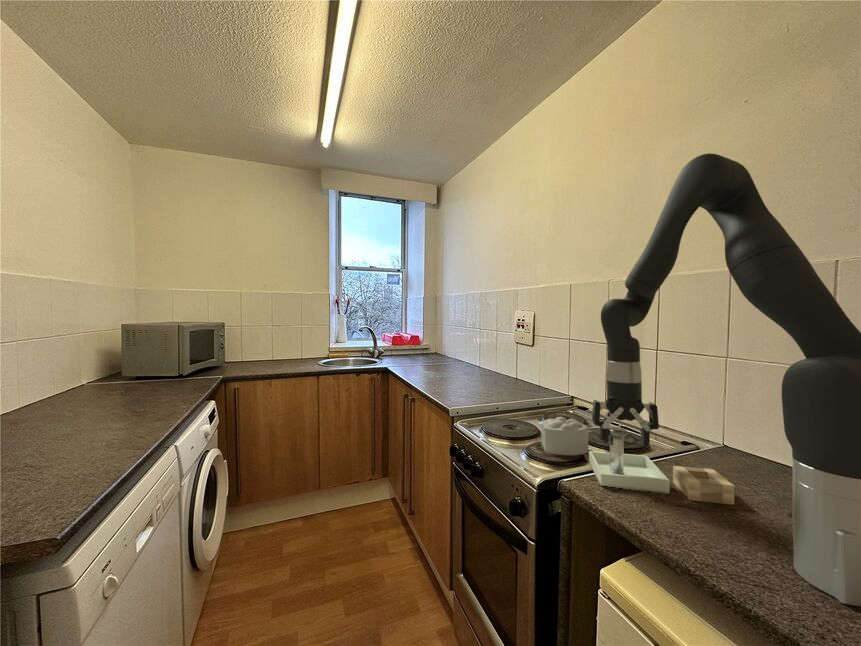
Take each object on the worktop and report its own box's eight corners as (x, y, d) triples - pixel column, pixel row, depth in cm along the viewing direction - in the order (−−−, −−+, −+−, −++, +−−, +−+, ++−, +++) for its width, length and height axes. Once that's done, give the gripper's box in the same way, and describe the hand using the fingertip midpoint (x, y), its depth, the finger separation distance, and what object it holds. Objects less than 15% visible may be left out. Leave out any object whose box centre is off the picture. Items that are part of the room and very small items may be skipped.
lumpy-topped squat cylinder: (540, 441, 108) (539, 415, 108) (582, 443, 106) (581, 415, 106) (546, 454, 97) (546, 425, 97) (593, 456, 95) (593, 426, 95)
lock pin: (629, 478, 81) (629, 433, 81) (609, 476, 82) (609, 431, 82) (623, 470, 85) (623, 427, 85) (604, 468, 86) (604, 426, 86)
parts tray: (669, 493, 74) (669, 480, 74) (601, 486, 78) (600, 473, 78) (646, 466, 88) (646, 455, 88) (588, 462, 91) (588, 451, 91)
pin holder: (734, 504, 70) (734, 485, 70) (689, 500, 72) (689, 481, 72) (712, 486, 77) (712, 469, 77) (673, 482, 79) (672, 465, 79)
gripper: (595, 380, 81) (596, 447, 81) (662, 382, 77) (663, 452, 77) (589, 375, 88) (590, 436, 88) (650, 377, 85) (651, 440, 85)
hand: (624, 443), depth 83 cm, fingers open, 8 cm apart
